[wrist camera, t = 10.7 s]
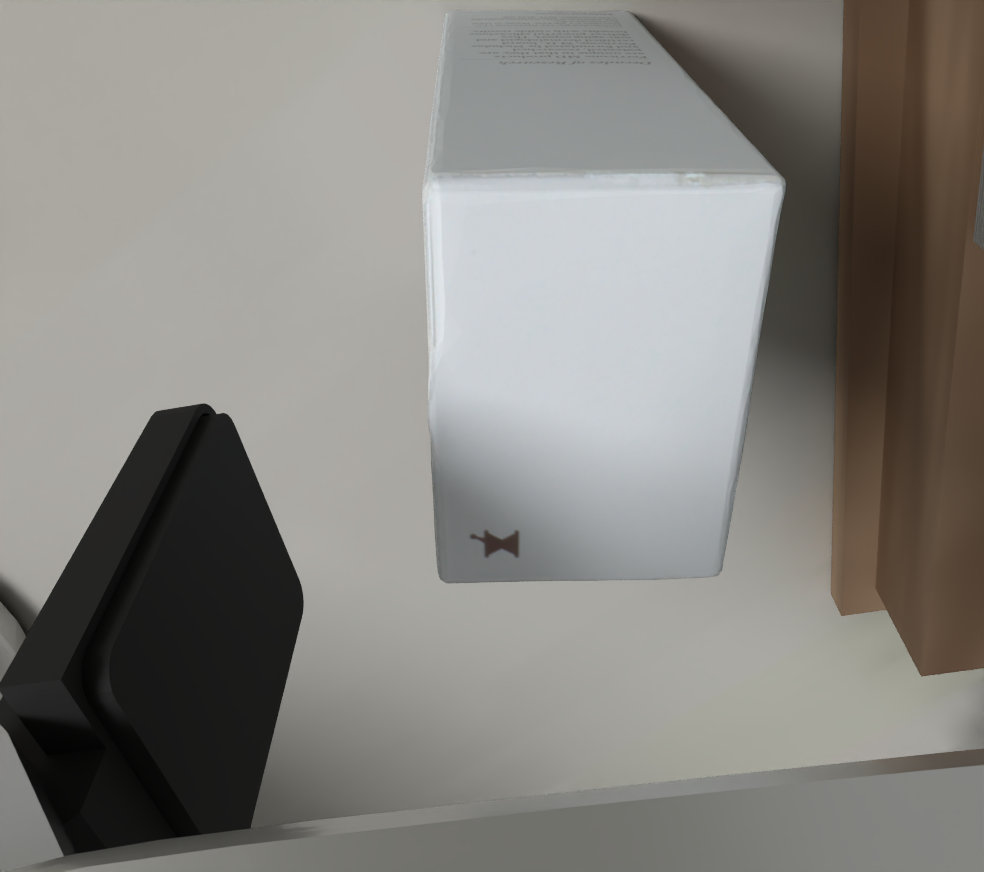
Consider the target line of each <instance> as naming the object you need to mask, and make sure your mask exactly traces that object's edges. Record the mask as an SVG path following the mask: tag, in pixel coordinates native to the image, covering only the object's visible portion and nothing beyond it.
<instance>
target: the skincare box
mask: <svg viewBox="0 0 984 872" xmlns="http://www.w3.org/2000/svg"><path fill="white" fill-rule="evenodd" d="M785 189H786V182H785V179H784V178H783V177H782V176H781V175H780V174H779V173H778V171H777V170H776V169H775V168H774V167H773V166H772V165H771V164H770V163H769V162H768V161H767V159H766V158H765V157H764V156H763V155H762V154H761V153H760V152H759V151H758V150H757V149H756V147H755V146H754V145H753V144H752V143H751V142H750V141H749V140H748V139H747V138H746V137H745V136H744V135H743V134H742V132H741V131H740V130H739V129H738V128H737V127H736V126H735V125H734V124H733V123H732V122H731V121H730V120H729V118H728V117H727V116H726V115H725V114H724V113H723V112H722V111H721V110H720V109H719V108H718V107H717V105H716V104H715V103H714V102H713V101H712V100H711V98H710V97H709V96H708V95H706V93H705V92H704V91H703V90H702V89H701V88H700V87H699V86H698V85H697V84H696V83H695V82H694V81H693V79H692V78H691V77H690V76H689V75H688V74H687V72H686V71H685V70H684V69H683V68H682V67H681V66H680V65H679V64H678V63H677V62H676V60H675V59H674V58H673V57H672V56H671V55H670V54H669V53H668V52H667V51H666V50H665V49H664V48H663V47H662V45H661V44H660V43H659V42H658V41H657V40H656V39H655V38H654V37H653V36H652V34H651V33H650V32H649V31H648V30H647V29H646V28H645V27H644V26H643V25H642V24H641V23H640V22H639V20H638V19H637V18H636V17H635V16H634V15H633V14H632V13H630V12H628V11H625V12H623V11H604V12H582V11H465V10H456V11H449V12H447V13H446V15H445V19H444V25H443V33H442V42H441V49H440V57H439V65H438V72H437V78H436V85H435V93H434V101H433V108H432V115H431V122H430V131H429V142H428V152H427V159H426V169H425V176H424V182H423V190H422V202H423V227H424V251H425V276H426V300H427V324H428V352H429V381H428V420H429V431H430V437H431V468H432V485H433V502H434V526H435V542H436V556H437V568H438V574H439V577H440V579H441V580H442V581H444V582H445V583H477V582H518V581H598V580H658V579H683V578H702V577H712V576H717V575H718V574H719V573H720V572H721V571H722V567H723V560H724V554H725V549H726V544H727V538H728V533H729V527H730V521H731V516H732V510H733V504H734V498H735V492H736V486H737V481H738V475H739V469H740V464H741V458H742V453H743V446H744V440H745V433H746V427H747V421H748V414H749V407H750V400H751V393H752V387H753V380H754V373H755V366H756V359H757V353H758V346H759V340H760V333H761V327H762V321H763V315H764V309H765V304H766V298H767V293H768V287H769V281H770V274H771V268H772V261H773V254H774V248H775V242H776V236H777V231H778V225H779V220H780V214H781V209H782V204H783V200H784V196H785Z"/></svg>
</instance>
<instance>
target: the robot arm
mask: <svg viewBox="0 0 984 872" xmlns="http://www.w3.org/2000/svg"><path fill="white" fill-rule="evenodd" d="M303 602H304V601H303V592H302V587H301V584H300V581H299V578H298V576H297V573H296V571H295V569H294V566H293V564H292V561H291V559H290V557H289V554H288V552H287V549H286V547H285V545H284V542H283V540H282V537H281V535H280V533H279V530H278V528H277V525H276V523H275V521H274V518H273V516H272V514H271V511H270V509H269V506H268V504H267V502H266V499H265V497H264V494H263V492H262V490H261V487H260V485H259V482H258V480H257V478H256V475H255V473H254V470H253V468H252V466H251V463H250V461H249V458H248V456H247V454H246V451H245V449H244V446H243V444H242V442H241V439H240V437H239V434H238V432H237V430H236V427H235V425H234V423H233V421H232V419H231V418H230V417H229V416H228V415H227V414H225V413H221V414H216V413H215V411H214V410H213V409H212V408H211V406H209V405H207V404H205V403H204V404H198V405H192V406H186V407H179V408H173V409H167V410H161V411H157V412H155V413H154V414H153V415H152V416H151V418H150V420H149V422H148V423H147V425H146V427H145V429H144V430H143V432H142V434H141V436H140V437H139V439H138V441H137V443H136V444H135V446H134V448H133V450H132V451H131V453H130V455H129V457H128V458H127V460H126V462H125V464H124V465H123V467H122V469H121V471H120V472H119V474H118V476H117V478H116V480H115V481H114V483H113V485H112V487H111V488H110V490H109V492H108V494H107V495H106V497H105V499H104V501H103V502H102V504H101V506H100V508H99V509H98V511H97V513H96V515H95V516H94V518H93V520H92V522H91V523H90V525H89V527H88V529H87V530H86V532H85V534H84V536H83V538H82V539H81V541H80V543H79V545H78V546H77V548H76V550H75V552H74V553H73V555H72V557H71V559H70V560H69V562H68V564H67V566H66V567H65V569H64V571H63V573H62V574H61V576H60V578H59V580H58V581H57V583H56V585H55V587H54V588H53V590H52V592H51V594H50V595H49V597H48V599H47V601H46V603H45V604H44V606H43V608H42V610H41V611H40V613H39V615H38V617H37V618H36V620H35V622H34V624H33V625H32V627H31V629H30V631H29V632H28V634H27V636H26V635H25V634H24V632H23V630H22V629H21V627H20V625H19V623H18V622H17V620H16V619H15V618H14V617H13V616H12V614H11V613H10V612H9V611H8V610H7V609H6V608H5V607H4V605H3V604H2V603H1V602H0V872H984V749H975V750H965V751H955V752H946V753H936V754H926V755H917V756H907V757H897V758H888V759H878V760H869V761H859V762H849V763H840V764H830V765H820V766H811V767H801V768H792V769H782V770H772V771H763V772H753V773H744V774H734V775H725V776H716V777H706V778H697V779H687V780H678V781H668V782H659V783H649V784H640V785H630V786H621V787H611V788H602V789H593V790H584V791H575V792H566V793H556V794H547V795H538V796H529V797H520V798H511V799H502V800H493V801H484V802H475V803H466V804H457V805H448V806H439V807H429V808H420V809H411V810H402V811H393V812H384V813H375V814H366V815H357V816H348V817H339V818H330V819H321V820H313V821H305V822H297V823H290V824H282V825H274V826H266V827H258V828H250V827H251V822H252V818H253V814H254V810H255V806H256V802H257V798H258V794H259V790H260V786H261V782H262V778H263V774H264V769H265V765H266V761H267V757H268V753H269V749H270V745H271V741H272V737H273V733H274V729H275V725H276V721H277V716H278V712H279V708H280V704H281V700H282V696H283V692H284V688H285V684H286V680H287V676H288V672H289V668H290V663H291V659H292V655H293V651H294V647H295V643H296V639H297V635H298V631H299V627H300V623H301V619H302V614H303Z"/></svg>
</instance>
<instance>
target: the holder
mask: <svg viewBox="0 0 984 872" xmlns="http://www.w3.org/2000/svg"><path fill="white" fill-rule="evenodd" d="M983 146H984V0H844V17H843V64H842V110H841V156H840V202H839V249H838V295H837V341H836V387H835V434H834V480H833V526H832V573H831V595H832V597H833V599H834V601H835V603H836V606H837V608H838V610H839V612H840V614H841V616H845V615H852V614H859V613H866V612H873V611H880V610H887V612H888V613H889V615H890V617H891V619H892V621H893V623H894V625H895V627H896V629H897V631H898V633H899V635H900V637H901V638H902V640H903V642H904V644H905V646H906V648H907V650H908V652H909V654H910V656H911V658H912V660H913V662H914V663H915V665H916V667H917V669H918V671H919V673H920V675H921V676H928V675H935V674H943V673H950V672H958V671H965V670H973V669H980V668H984V250H983V249H982V248H981V247H980V246H979V245H977V244H976V243H975V242H974V241H973V239H974V230H975V220H976V211H977V202H978V192H979V183H980V174H981V164H982V155H983Z"/></svg>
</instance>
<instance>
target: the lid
mask: <svg viewBox="0 0 984 872" xmlns="http://www.w3.org/2000/svg"><path fill="white" fill-rule="evenodd" d="M973 241H974V242H975V243H976V244H977V245H979V246H980V247H981V248H982V249H983V250H984V146H983V155H982V164H981V174H980V183H979V192H978V202H977V211H976V220H975V230H974V239H973Z"/></svg>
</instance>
